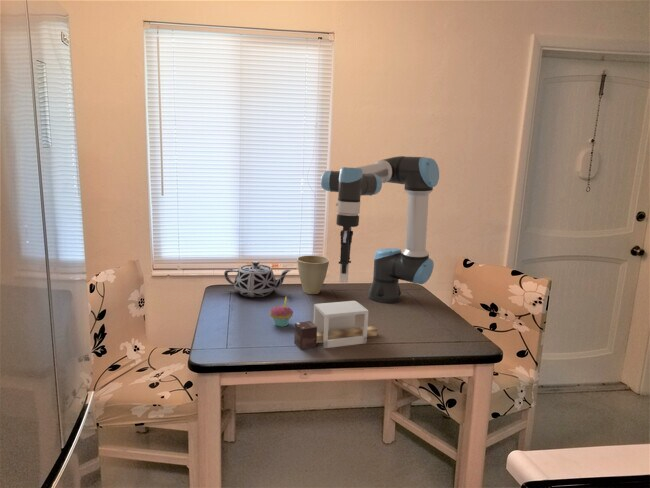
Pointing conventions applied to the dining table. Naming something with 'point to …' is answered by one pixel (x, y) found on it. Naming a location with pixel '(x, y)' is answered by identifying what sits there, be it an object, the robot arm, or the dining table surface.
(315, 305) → the tunnel
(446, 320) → the dining table surface
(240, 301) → the dining table surface
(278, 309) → the cupcake
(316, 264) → the plant pot
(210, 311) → the dining table surface
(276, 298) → the dining table surface
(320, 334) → the rod
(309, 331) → the box
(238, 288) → the teapot
